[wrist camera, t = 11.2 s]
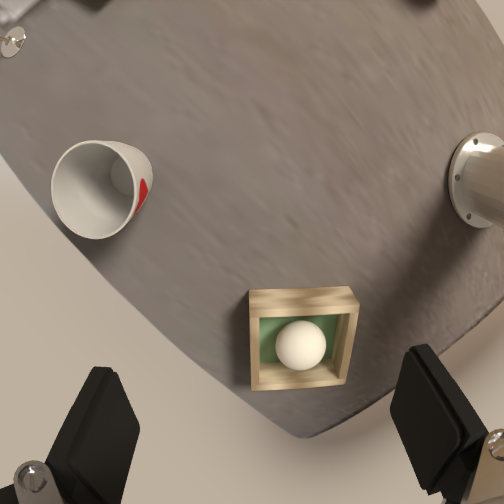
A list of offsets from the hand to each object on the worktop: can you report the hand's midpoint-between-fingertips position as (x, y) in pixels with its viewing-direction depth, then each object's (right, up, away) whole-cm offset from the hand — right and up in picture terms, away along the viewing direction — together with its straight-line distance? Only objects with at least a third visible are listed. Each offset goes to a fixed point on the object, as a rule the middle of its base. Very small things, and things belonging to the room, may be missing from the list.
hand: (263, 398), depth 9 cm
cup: (-13, +13, +23) cm, 30 cm away
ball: (+5, -6, +28) cm, 29 cm away
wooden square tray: (+5, -5, +31) cm, 32 cm away
